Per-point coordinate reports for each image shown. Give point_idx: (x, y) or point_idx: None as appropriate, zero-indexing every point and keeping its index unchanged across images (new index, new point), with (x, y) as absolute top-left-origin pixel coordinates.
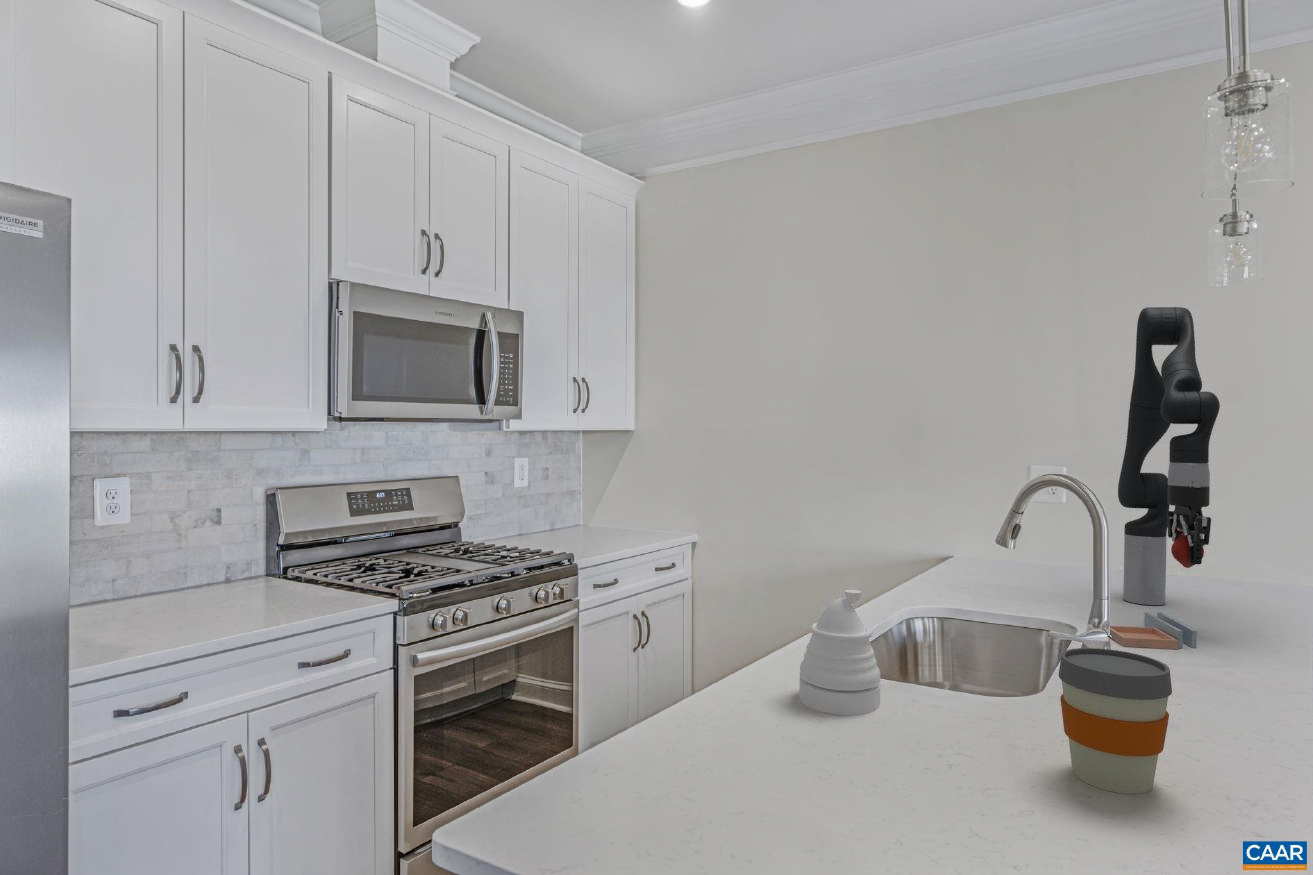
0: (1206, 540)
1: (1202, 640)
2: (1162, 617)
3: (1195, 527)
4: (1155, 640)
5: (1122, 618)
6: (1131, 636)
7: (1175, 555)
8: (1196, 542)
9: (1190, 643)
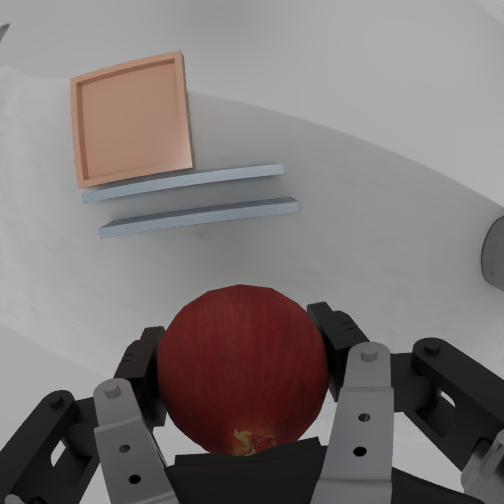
0: (67, 451)
1: (190, 264)
2: (265, 204)
3: (11, 471)
4: (73, 141)
5: (367, 145)
6: (141, 104)
7: (210, 291)
8: (42, 399)
9: (116, 221)
